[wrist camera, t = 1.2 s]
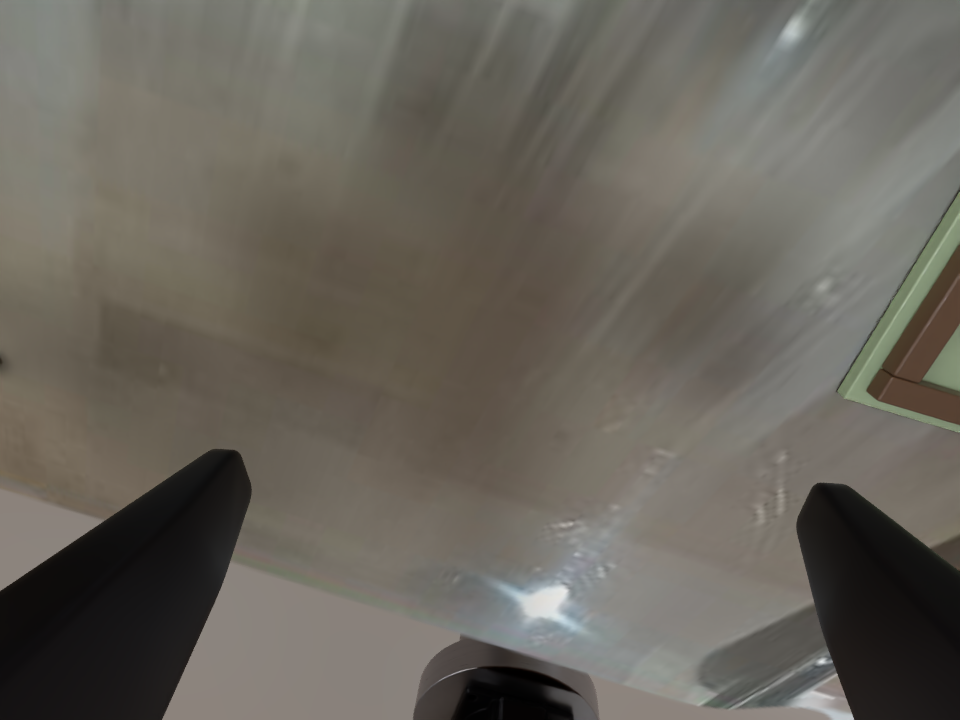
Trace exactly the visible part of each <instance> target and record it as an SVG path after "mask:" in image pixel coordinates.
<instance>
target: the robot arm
mask: <svg viewBox="0 0 960 720" xmlns="http://www.w3.org/2000/svg"><path fill="white" fill-rule="evenodd" d="M251 492H252V489H251V483H250V480H249V477H248V474H247V471H246V468H245V465H244V462H243V460H242V457H241V455H240V453H239V452H237V451H235V450H225V449H213V450H210V451H208V452H206V453H205V454H203V455H202V456H200V457H199V458H197V459H196V460H194V461H193V462H192V463H190V464H189V465H187V466H186V467H184V468H183V469H181V470H180V471H178V472H177V473H175V474H174V475H172V476H171V477H169V478H168V479H166V480H165V481H163V482H162V483H160V484H159V485H157V486H156V487H154V488H153V489H151V490H150V491H148V492H147V493H145V494H144V495H142V496H141V497H139V498H138V499H136V500H135V501H134V502H132V503H131V504H129V505H128V506H126V507H125V508H123V509H122V510H120V511H119V512H117V513H116V514H114V515H113V516H111V517H110V518H108V519H107V520H105V521H104V522H102V523H101V524H99V525H98V526H96V527H95V528H94V529H92V530H90V531H89V532H87V533H86V534H85V535H83V536H81V537H80V538H79V539H77V540H76V541H74V542H73V543H71V544H70V545H68V546H67V547H65V548H64V549H62V550H61V551H59V552H58V553H56V554H55V555H53V556H52V557H50V558H49V559H47V560H46V561H44V562H43V563H41V564H40V565H38V566H37V567H36V568H34V569H33V570H31V571H29V572H28V573H26V574H25V575H24V576H22V577H21V578H19V579H18V580H16V581H15V582H13V583H12V584H10V585H9V586H7V587H6V588H4V589H3V590H1V591H0V720H162V718H163V716H164V714H165V712H166V710H167V707H168V705H169V703H170V701H171V698H172V696H173V694H174V692H175V690H176V687H177V685H178V683H179V681H180V678H181V676H182V674H183V672H184V669H185V667H186V665H187V663H188V661H189V658H190V656H191V654H192V652H193V649H194V647H195V645H196V643H197V640H198V638H199V636H200V634H201V632H202V629H203V627H204V625H205V623H206V620H207V618H208V616H209V614H210V611H211V609H212V607H213V605H214V603H215V600H216V598H217V596H218V593H219V591H220V589H221V586H222V583H223V581H224V578H225V575H226V572H227V569H228V566H229V563H230V560H231V557H232V554H233V551H234V548H235V545H236V542H237V539H238V536H239V533H240V530H241V526H242V523H243V520H244V517H245V514H246V511H247V508H248V505H249V502H250V499H251ZM796 528H797V535H798V539H799V543H800V547H801V551H802V555H803V559H804V563H805V567H806V571H807V575H808V579H809V583H810V587H811V591H812V595H813V599H814V603H815V607H816V611H817V615H818V618H819V622H820V625H821V629H822V632H823V635H824V638H825V641H826V644H827V647H828V650H829V652H830V655H831V658H832V660H833V663H834V666H835V668H836V671H837V674H838V677H839V679H840V682H841V685H842V687H843V690H844V693H845V696H846V698H847V701H848V704H849V706H850V709H851V712H852V714H853V717H854V720H960V571H958V570H957V569H956V568H954V567H953V566H952V565H951V564H949V563H948V562H947V561H945V560H944V559H943V558H941V557H940V556H939V555H938V554H936V553H935V552H934V551H932V550H931V549H930V548H928V547H927V546H926V545H925V544H923V543H922V542H921V541H919V540H918V539H917V538H916V537H914V536H913V535H912V534H910V533H909V532H908V531H906V530H905V529H904V528H903V527H901V526H900V525H899V524H897V523H896V522H895V521H893V520H892V519H891V518H890V517H888V516H887V515H886V514H884V513H883V512H882V511H881V510H879V509H878V508H877V507H875V506H874V505H873V504H871V503H870V502H869V501H868V500H866V499H865V498H864V497H862V496H861V495H860V494H858V493H857V492H856V491H855V490H853V489H852V488H850V487H849V486H847V485H844V484H834V483H817V484H815V485H814V486H813V487H812V489H811V491H810V493H809V495H808V497H807V499H806V501H805V503H804V505H803V507H802V509H801V511H800V514H799V516H798V519H797V526H796ZM453 720H574V716H573V714H572V713H571V712H569V711H566V710H562V709H559V708H555V707H551V706H548V705H544V704H540V703H537V702H533V701H529V700H526V699H522V698H518V697H515V696H511V695H508V694H504V693H500V692H497V691H493V690H489V689H486V688H482V687H478V686H474V685H471V686H468V687H466V689H465V691H464V693H463V695H462V698H461V700H460V703H459V705H458V708H457V710H456V713H455V715H454V718H453Z"/></svg>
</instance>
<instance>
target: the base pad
mask: <svg viewBox="0 0 960 720" xmlns="http://www.w3.org/2000/svg"><path fill="white" fill-rule="evenodd" d="M837 392H838V393H839V394H840V395H841V396H842V397H843V398H844V399H847V400H851V401H854V402H857V403H861V404H864V405H867V406H871V407H874V408H877V409H881V410H884V411H887V412H891V413H894V414H898V415H901V416H904V417H908V418H911V419H914V420H918V421H921V422H924V423H928V424H931V425H934V426H938V427H941V428H945V429H948V430H951V431H955V432H958V433H960V192H959V193H958V195H957V197H956V198H955V200H954V202H953V203H952V205H951V206H950V208H949V210H948V211H947V213H946V215H945V216H944V218H943V219H942V221H941V223H940V224H939V226H938V228H937V229H936V231H935V232H934V234H933V236H932V237H931V239H930V241H929V242H928V244H927V246H926V247H925V249H924V250H923V252H922V254H921V255H920V257H919V259H918V260H917V262H916V263H915V265H914V267H913V268H912V270H911V272H910V273H909V275H908V276H907V278H906V280H905V281H904V283H903V285H902V286H901V288H900V290H899V291H898V293H897V294H896V296H895V298H894V299H893V301H892V303H891V304H890V306H889V307H888V309H887V311H886V312H885V314H884V316H883V317H882V319H881V320H880V322H879V324H878V325H877V327H876V329H875V330H874V332H873V334H872V335H871V337H870V338H869V340H868V342H867V343H866V345H865V347H864V348H863V350H862V351H861V353H860V355H859V356H858V358H857V360H856V361H855V363H854V364H853V366H852V368H851V369H850V371H849V373H848V374H847V376H846V378H845V379H844V381H843V382H842V384H841V386H840V387H839V389H838V391H837Z"/></svg>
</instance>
